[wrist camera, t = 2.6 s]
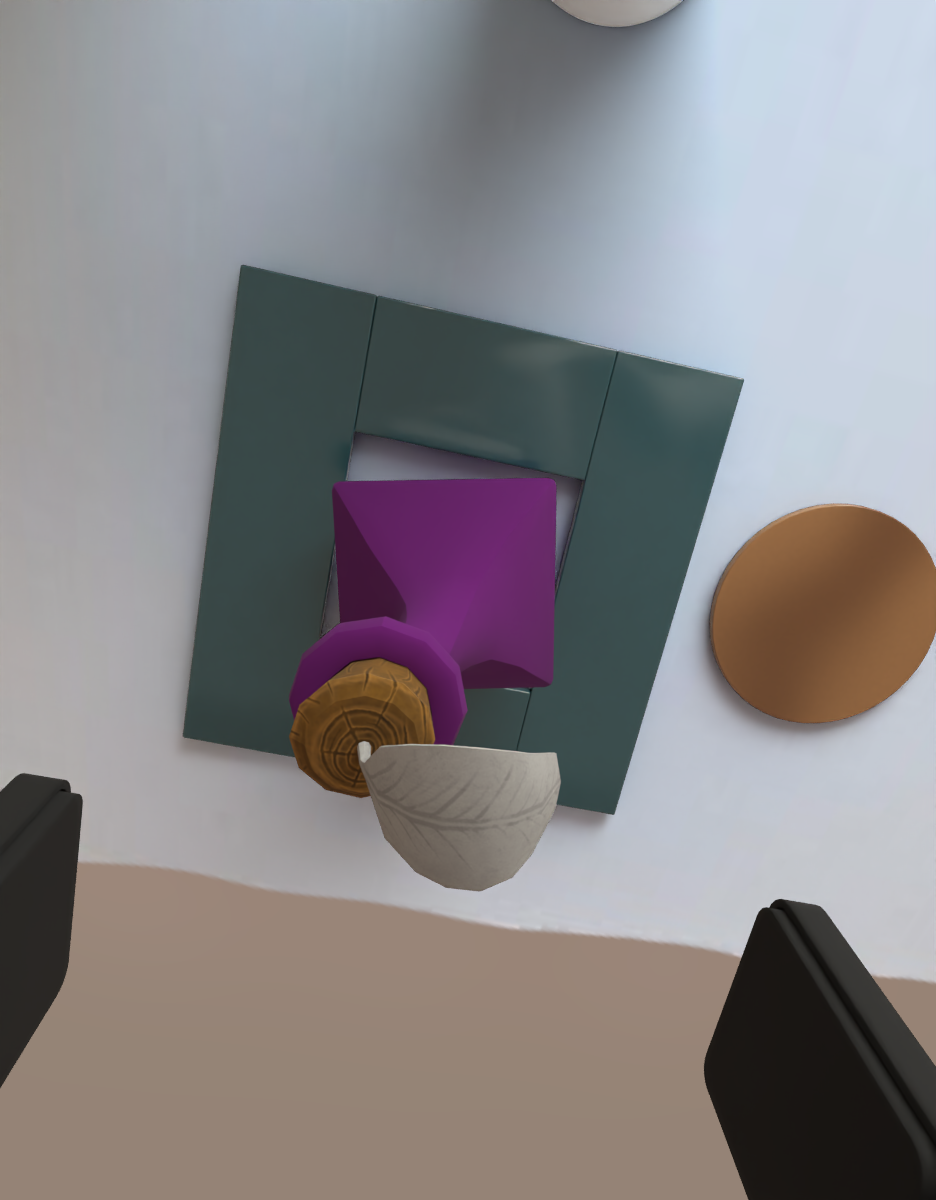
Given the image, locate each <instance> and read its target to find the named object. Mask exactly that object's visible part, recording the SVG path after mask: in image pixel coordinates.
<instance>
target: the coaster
mask: <svg viewBox="0 0 936 1200" xmlns="http://www.w3.org/2000/svg"><path fill="white" fill-rule="evenodd" d="M935 633H936V568H935V565H934V563H933V560H932V558H931V556H930V554H929V553H928V551H927V549H926V548H925V546H924V544H923V543H922V542H921V541H920V540H919V538H918V537H917V536H916V535H915V534H914V533H913V532H912V531H911V530H910V529H909V528H907V527H906V526H905V525H904V524H902V523H901V522H899V521H898V520H896V519H895V518H893V517H891V516H889V515H886V514H884V513H882V512H880V511H877V510H874V509H870V508H867V507H863V506H858V505H852V504H824V505H816V506H812V507H808V508H804V509H800V510H798V511H795V512H792V513H790V514H787V515H785V516H783V517H781V518H779V519H777V520H776V521H774V522H772V523H770V524H769V525H767V526H766V527H764V528H763V529H762V530H760V531H759V532H757V533H756V534H755V535H754V536H753V537H752V538H751V539H750V540H748V541H747V542H746V543H745V544H744V545H743V547H742V548H741V549H740V550H739V551H738V552H737V553H736V555H735V556H734V557H733V559H732V560H731V562H730V563H729V565H728V566H727V568H726V569H725V571H724V573H723V575H722V577H721V579H720V581H719V584H718V586H717V589H716V591H715V594H714V598H713V602H712V606H711V614H710V639H711V645H712V650H713V653H714V656H715V659H716V662H717V664H718V666H719V668H720V670H721V672H722V674H723V676H724V677H725V679H726V680H727V682H728V683H729V684H730V686H731V687H732V688H733V689H734V690H735V691H736V692H737V693H738V694H739V695H740V696H741V698H743V699H744V700H745V701H746V702H748V703H749V704H750V705H752V706H753V707H755V708H757V709H758V710H760V711H762V712H763V713H766V714H768V715H771V716H773V717H776V718H779V719H783V720H787V721H791V722H799V723H823V722H832V721H837V720H841V719H845V718H848V717H851V716H854V715H857V714H860V713H862V712H864V711H866V710H868V709H870V708H872V707H874V706H876V705H877V704H879V703H880V702H882V701H884V700H885V699H887V698H888V697H889V696H891V695H892V694H893V693H894V692H896V691H897V690H898V689H899V688H900V687H901V686H902V685H903V684H904V683H905V682H906V681H907V680H908V679H909V678H910V677H911V676H912V674H913V673H914V672H915V671H916V669H917V668H918V667H919V665H920V664H921V662H922V660H923V659H924V657H925V656H926V654H927V652H928V650H929V648H930V646H931V643H932V641H933V639H934V636H935Z"/></svg>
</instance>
